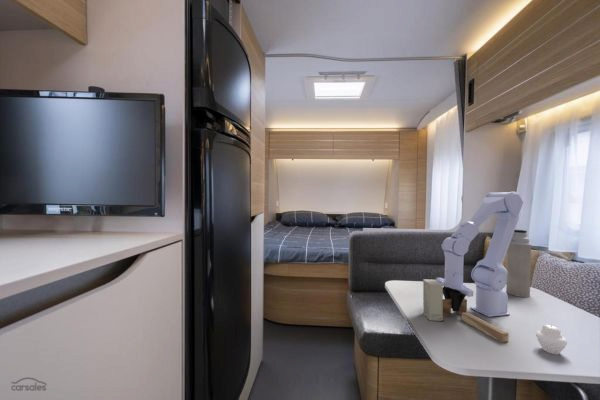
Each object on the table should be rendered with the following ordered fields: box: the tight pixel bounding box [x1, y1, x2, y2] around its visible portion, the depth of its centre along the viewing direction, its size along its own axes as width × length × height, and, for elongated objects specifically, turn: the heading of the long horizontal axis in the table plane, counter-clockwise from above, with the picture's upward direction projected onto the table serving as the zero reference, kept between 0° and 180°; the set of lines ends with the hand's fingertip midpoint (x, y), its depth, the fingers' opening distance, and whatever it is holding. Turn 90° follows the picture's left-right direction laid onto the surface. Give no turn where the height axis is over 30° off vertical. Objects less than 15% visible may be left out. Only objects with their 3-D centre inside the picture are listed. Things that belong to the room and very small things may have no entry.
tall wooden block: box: [443, 297, 468, 317], centre depth 94 cm, size 10×2×5 cm, turn 103°
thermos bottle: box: [505, 229, 532, 298], centre depth 116 cm, size 8×8×28 cm
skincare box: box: [422, 278, 444, 322], centre depth 91 cm, size 6×4×12 cm
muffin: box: [535, 324, 568, 355], centre depth 71 cm, size 6×6×7 cm
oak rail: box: [461, 311, 510, 343], centre depth 82 cm, size 2×14×2 cm, turn 13°
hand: (452, 309), depth 94 cm, fingers closed on tall wooden block, 2 cm apart
